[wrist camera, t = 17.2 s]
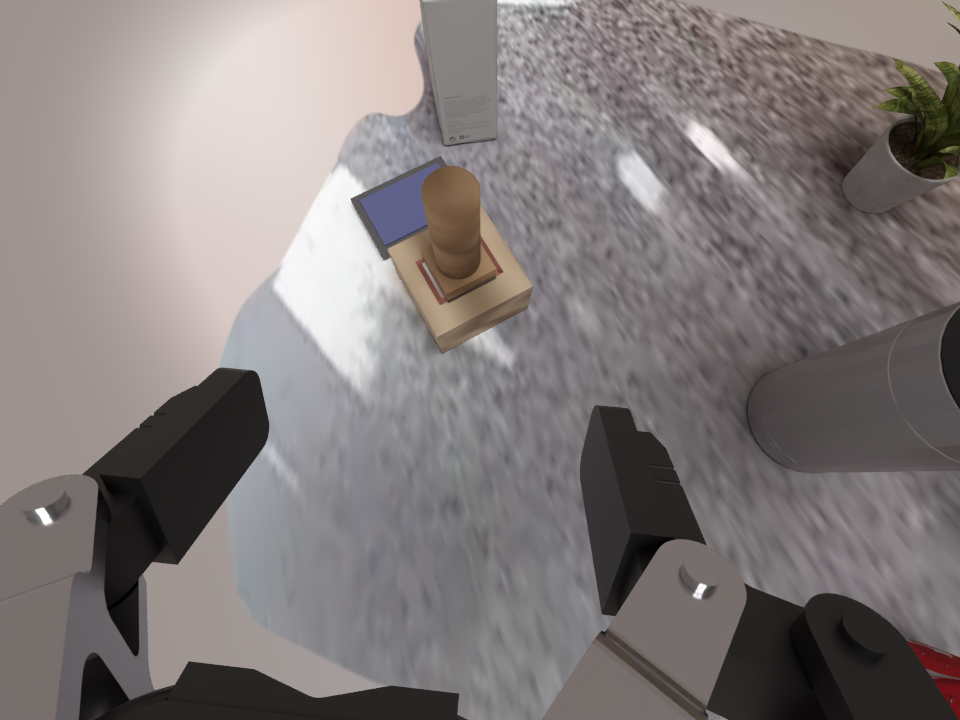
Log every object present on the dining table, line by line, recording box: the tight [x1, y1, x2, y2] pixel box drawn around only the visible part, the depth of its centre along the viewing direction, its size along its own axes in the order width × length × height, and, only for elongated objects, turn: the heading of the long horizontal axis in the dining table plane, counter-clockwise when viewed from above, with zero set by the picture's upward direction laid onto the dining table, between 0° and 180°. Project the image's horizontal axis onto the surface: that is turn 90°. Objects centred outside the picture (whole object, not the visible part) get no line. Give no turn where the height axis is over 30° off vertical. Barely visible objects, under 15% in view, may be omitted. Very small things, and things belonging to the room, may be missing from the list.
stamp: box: [420, 166, 497, 303], centre depth 32 cm, size 4×4×10 cm
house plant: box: [842, 2, 960, 214], centre depth 37 cm, size 14×14×16 cm
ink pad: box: [351, 156, 447, 260], centre depth 44 cm, size 10×7×1 cm
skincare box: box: [420, 0, 497, 145], centre depth 41 cm, size 8×6×15 cm
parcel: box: [388, 204, 533, 354], centre depth 40 cm, size 9×9×5 cm
